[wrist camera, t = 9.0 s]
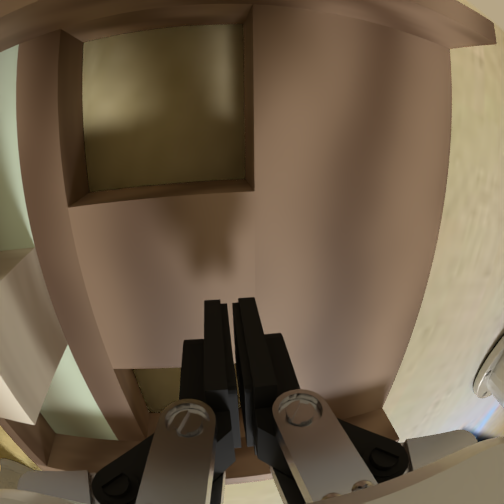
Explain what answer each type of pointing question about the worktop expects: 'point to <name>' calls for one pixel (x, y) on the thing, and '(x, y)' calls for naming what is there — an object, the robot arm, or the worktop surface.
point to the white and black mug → (11, 473)
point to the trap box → (234, 207)
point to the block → (26, 336)
